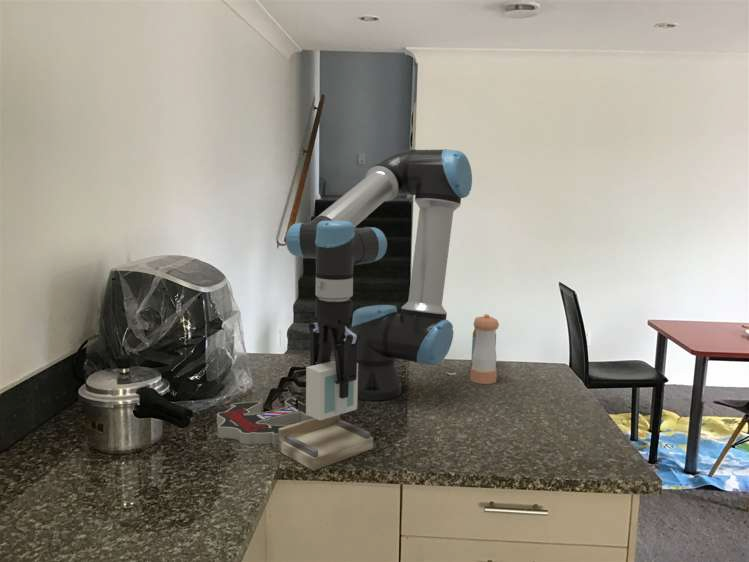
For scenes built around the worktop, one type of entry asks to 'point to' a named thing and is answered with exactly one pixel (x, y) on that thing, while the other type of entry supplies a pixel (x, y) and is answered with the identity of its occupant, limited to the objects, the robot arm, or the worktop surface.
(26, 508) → the worktop surface
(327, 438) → the tray
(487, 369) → the salt shaker
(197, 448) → the worktop surface
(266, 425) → the decorative sign
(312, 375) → the white box
